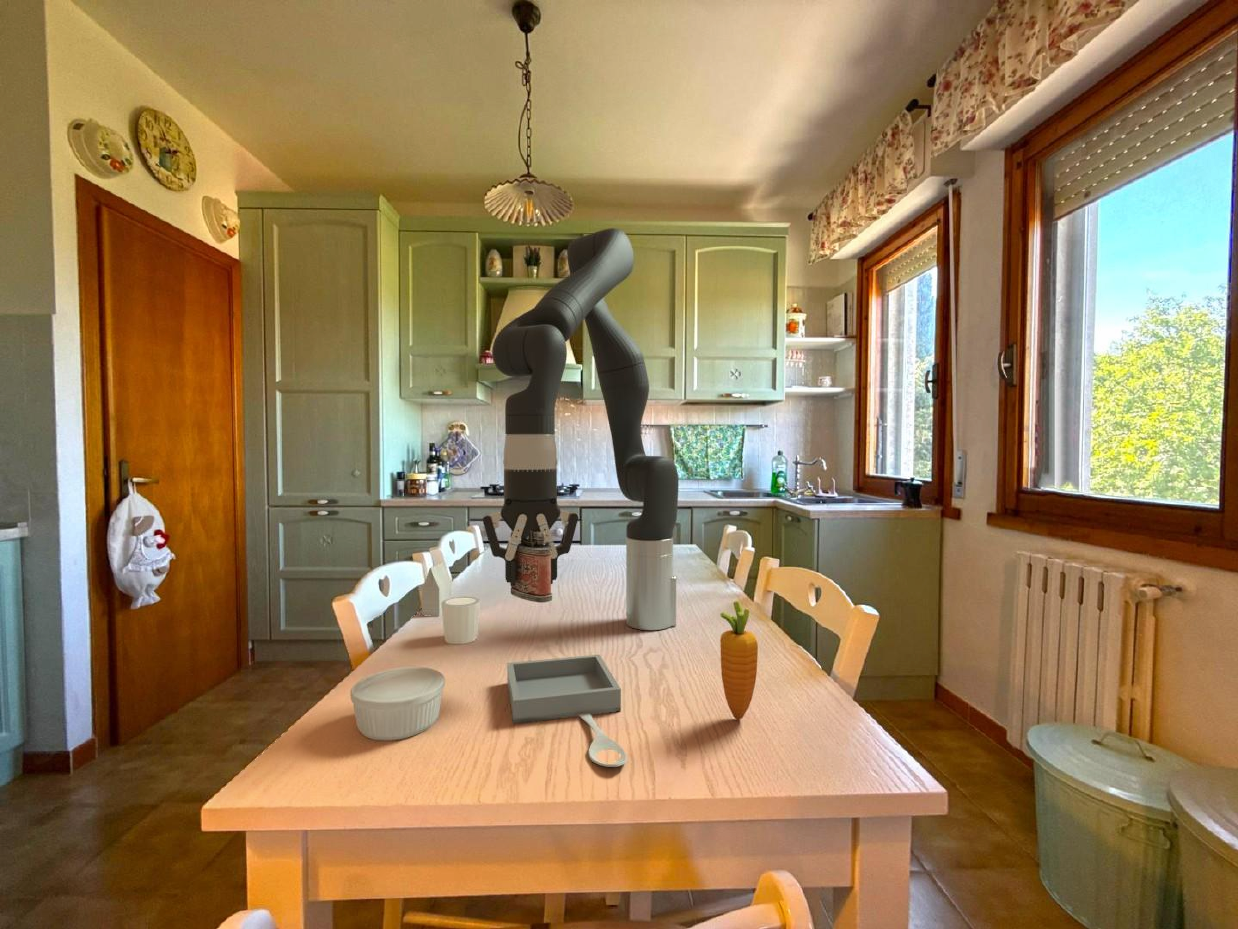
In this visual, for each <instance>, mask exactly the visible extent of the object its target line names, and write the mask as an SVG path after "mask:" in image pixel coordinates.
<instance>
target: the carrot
mask: <svg viewBox="0 0 1238 929" xmlns="http://www.w3.org/2000/svg"><path fill="white" fill-rule="evenodd" d="M733 606H734V607H733V608H734V611H735V615H736V616H735V615H729V614H728V613H726V612H721V613H720V617H721V618H723V619H725V621H727V623H729V625H730V627H731V628H732V629H730V630H726V631H724V632H723V633H722V634H721V635H720V642H719V644H720V669H721V673H720V674H721V679H722V681H721V682H722V685H723V686H722V687H723V692H724V697H725V701H726V703H727V706H728V709H729V710H730V712H731V714H732V716H733V717H734V719H735V720H736V721H740V720H742V719H743V718H744V717H745V714H746V712H747V711H748V709H749V707H750V705H751V702H752V699H753V696H754V695H753V694H754V691H755V688H756V687H755V686H756V681H757V670H758V654H759V653H758V652H759V650H758V649H759V646H758V640H757V637H756V635H755V634H754V633H753V632H750V631H748V630H745V629H746V626H747V624H748V620H749V615H750V609H748V608H747V607H746V608H744V611H743V609H742V605H741V602H740V601H734V602H733Z"/></svg>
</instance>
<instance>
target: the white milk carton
mask: <svg viewBox="0 0 1238 929" xmlns="http://www.w3.org/2000/svg"><path fill="white" fill-rule="evenodd" d="M446 568H447V567H446V566H445V562H444V561H441V562H438V563H437V564H435V565H434V566H431V567H429V568H428V573H427V576H426V578H425V580H424V582H423V585H422V587H421V596H422V597H421V608H422V609H421V616H422V615H431V616H430V617H439V616H440V615H441V614H442V606H441V603H442V601H444V600H446V599H450V598H453V596H452V595H453V593H452V592H453V591H452V590H453V589H452V588H453V587H452V586H453V583H452V581H453V580H452V579H451V577H450V575H449V572H448V571H447V569H446ZM441 616H442V615H441ZM441 616H440V617H441Z"/></svg>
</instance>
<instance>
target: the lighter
mask: <svg viewBox="0 0 1238 929" xmlns="http://www.w3.org/2000/svg"><path fill="white" fill-rule="evenodd" d="M544 539H545V532H541V531H537V532H532V531H531V530H530V535H529V536H528V537H526V538H520V541H519V544H518V546H517V549H516V552H515V555H514V558H515V566H516V586H512V587H511V586H510V595H512V596H513V597H516V598H518V599H521V600H524V601H528V602H533V603H540V604H542V603H543V604H544V603H549V602H551V601H553V593H552V584H551V553H552V547H550V546H546V545H545V544H544Z"/></svg>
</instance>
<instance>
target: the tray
mask: <svg viewBox="0 0 1238 929" xmlns="http://www.w3.org/2000/svg"><path fill="white" fill-rule="evenodd" d="M506 666H507V668H506V671H507V674H506V675H507V676H506V677H507V678H506V680H507V690H508V697H509V701H510V702H509V703H510V710H511V716H512V724H513V725H517V724H525V723H526V724H528V723H533V722H534V723H536V722H542V721H543V722H544V721H551V720H553V721H554V720H559V719H558V718H561V719H569V718H570V719H571V718H577V717H579V715H580V714H584V713H590V714H591V716H593V715H594V714H595V715H602V713H604V714H610V713H609V712H612V713H617V712H616V711H621V710H622V708H621V707H622V705H621V704H622V700H621V699H622V698H621V696H622V692H621V691H622V690H621V689H622V688H621V687H620V685H619V684H618V682H617V681H616V679H615V678H614V676H613V674H612V672H611V671H610V669H609V667H608V666H607V664H606V663H605V661H604V659H603V658H602V656H601V654H591V655H581V656H580V655H579V656H569V657H559V658H549V659H547V658H545V659H535V660H527V661H526V660H525V661H523V660H522V661H515V662H514V661H513V662H507V664H506ZM595 715H594V716H595Z"/></svg>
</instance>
